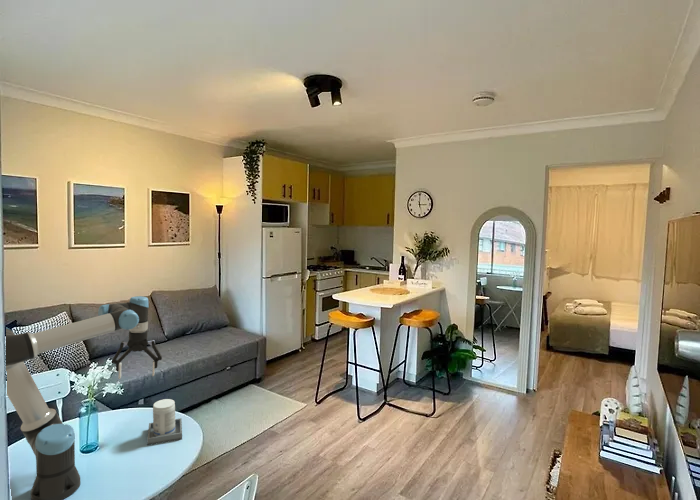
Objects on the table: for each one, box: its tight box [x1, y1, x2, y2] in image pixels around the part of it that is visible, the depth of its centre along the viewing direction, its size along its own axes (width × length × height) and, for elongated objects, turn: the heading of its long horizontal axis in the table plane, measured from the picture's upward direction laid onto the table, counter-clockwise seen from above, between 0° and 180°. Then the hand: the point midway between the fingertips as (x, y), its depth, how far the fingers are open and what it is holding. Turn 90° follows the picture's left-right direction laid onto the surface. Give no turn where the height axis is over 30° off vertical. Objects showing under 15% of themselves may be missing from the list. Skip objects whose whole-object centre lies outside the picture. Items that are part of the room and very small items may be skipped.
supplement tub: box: [152, 398, 176, 437], centre depth 190 cm, size 10×10×15 cm
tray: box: [146, 417, 183, 446], centre depth 191 cm, size 15×15×3 cm
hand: (136, 376), depth 182 cm, fingers open, 13 cm apart
